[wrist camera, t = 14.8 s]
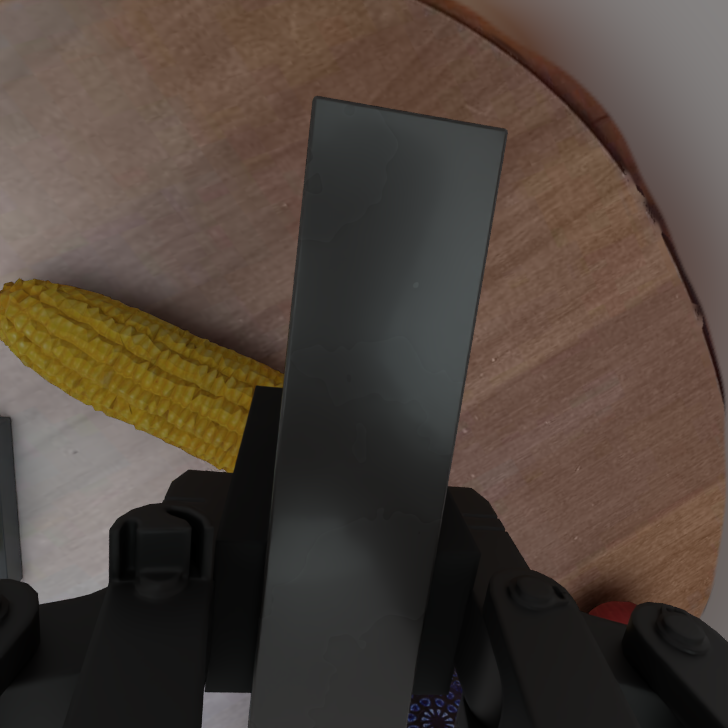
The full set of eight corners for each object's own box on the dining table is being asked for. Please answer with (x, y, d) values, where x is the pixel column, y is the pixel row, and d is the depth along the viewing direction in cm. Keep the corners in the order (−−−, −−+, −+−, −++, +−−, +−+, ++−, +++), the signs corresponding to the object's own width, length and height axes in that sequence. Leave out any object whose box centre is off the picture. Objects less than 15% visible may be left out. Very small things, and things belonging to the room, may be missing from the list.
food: (416, 417, 30) (442, 467, 24) (370, 497, 31) (385, 562, 26) (37, 246, 25) (-39, 259, 20) (1, 349, 27) (-81, 389, 21)
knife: (305, 177, 13) (313, 94, 6) (401, 192, 13) (509, 129, 6) (229, 912, 17) (184, 1342, 10) (303, 908, 18) (306, 1322, 11)
